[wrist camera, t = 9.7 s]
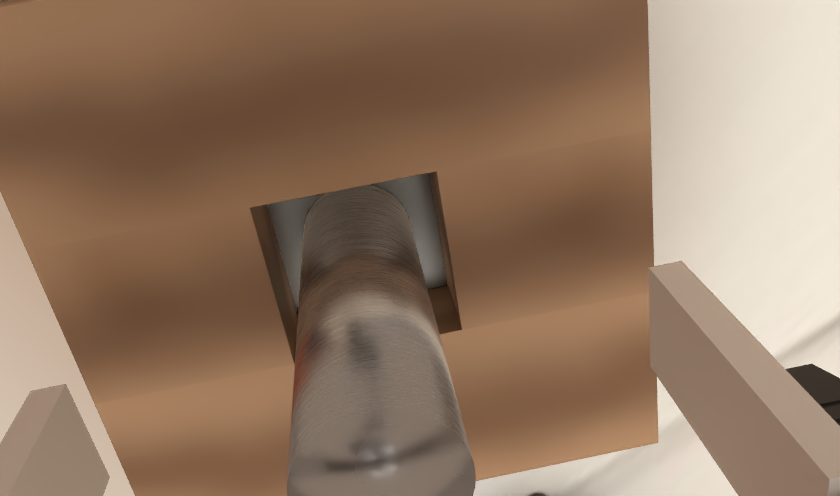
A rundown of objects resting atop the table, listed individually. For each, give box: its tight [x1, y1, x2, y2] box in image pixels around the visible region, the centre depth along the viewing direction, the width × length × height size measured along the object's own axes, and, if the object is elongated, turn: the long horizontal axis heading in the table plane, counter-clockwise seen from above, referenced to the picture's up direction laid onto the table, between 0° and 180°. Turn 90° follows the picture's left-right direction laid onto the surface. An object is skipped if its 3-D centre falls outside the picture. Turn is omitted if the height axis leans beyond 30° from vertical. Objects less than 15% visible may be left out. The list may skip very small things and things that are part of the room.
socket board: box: [0, 0, 658, 496], centre depth 23 cm, size 18×18×3 cm
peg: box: [287, 184, 476, 496], centre depth 19 cm, size 4×4×12 cm
